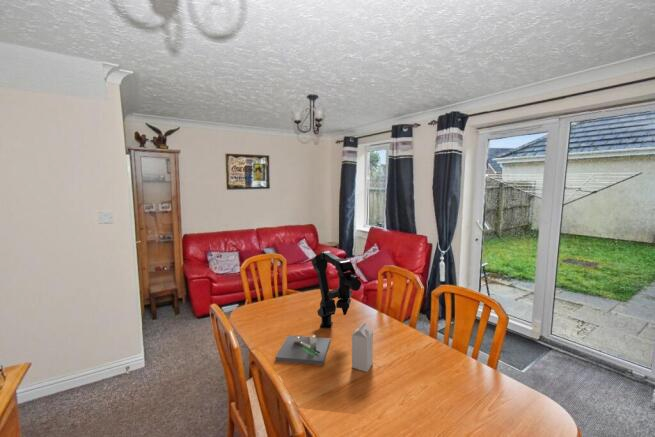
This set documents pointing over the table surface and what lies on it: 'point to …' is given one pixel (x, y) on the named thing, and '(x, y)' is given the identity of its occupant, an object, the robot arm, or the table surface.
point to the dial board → (303, 351)
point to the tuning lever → (312, 344)
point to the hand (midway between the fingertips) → (344, 314)
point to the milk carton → (362, 348)
